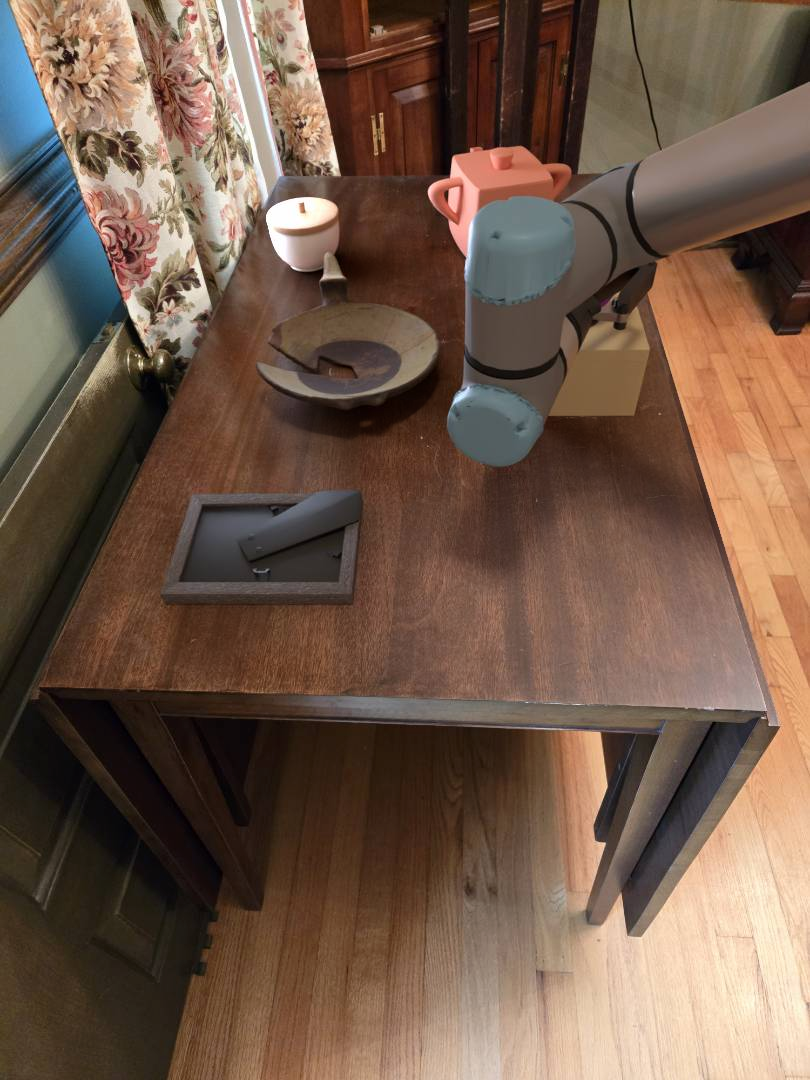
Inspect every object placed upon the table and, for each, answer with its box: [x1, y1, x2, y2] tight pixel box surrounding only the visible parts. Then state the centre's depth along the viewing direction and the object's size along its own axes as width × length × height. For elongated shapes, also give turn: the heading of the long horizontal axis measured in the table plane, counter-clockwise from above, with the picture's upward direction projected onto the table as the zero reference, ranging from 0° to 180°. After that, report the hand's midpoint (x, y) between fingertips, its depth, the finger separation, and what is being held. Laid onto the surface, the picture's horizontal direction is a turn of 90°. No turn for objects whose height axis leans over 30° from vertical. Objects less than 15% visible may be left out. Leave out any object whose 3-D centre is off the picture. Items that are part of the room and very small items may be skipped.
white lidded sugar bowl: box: [265, 196, 341, 273], centre depth 109 cm, size 11×11×9 cm
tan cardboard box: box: [548, 292, 651, 417], centre depth 86 cm, size 14×16×10 cm
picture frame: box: [159, 489, 364, 605], centre depth 72 cm, size 13×2×18 cm
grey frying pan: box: [255, 252, 441, 411], centre depth 91 cm, size 22×30×8 cm
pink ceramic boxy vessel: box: [427, 145, 573, 259], centre depth 110 cm, size 20×22×14 cm
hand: (598, 231), depth 81 cm, fingers closed on decorative egg, 8 cm apart
